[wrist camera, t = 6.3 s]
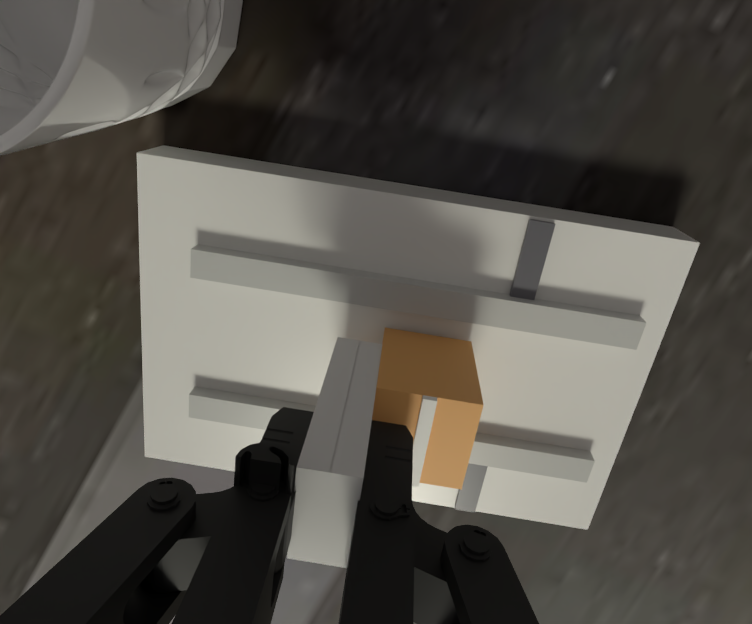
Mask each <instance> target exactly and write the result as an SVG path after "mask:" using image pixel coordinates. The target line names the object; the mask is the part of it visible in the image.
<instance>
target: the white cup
mask: <svg viewBox="0 0 752 624" xmlns="http://www.w3.org/2000/svg"><path fill="white" fill-rule="evenodd" d="M242 4H243V0H0V156H2V155H6V154H10V153H14V152H17V151H21V150H25V149H28V148H32V147H36V146H40V145H44V144H47V143H51V142H55V141H59V140H63V139H67V138H70V137H74V136H78V135H82V134H86V133H90V132H94V131H97V130H101V129H104V128H107V127H109V126H113V125H116V124H119V123H122V122H125V121H129V120H132V119H136V118H139V117H142V116H145V115H148V114H151V113H153V112H156V111H158V110H160V109H162V108H166V107H170V106H173V105H175V104H177V103H179V102H181V101H183V100H185V99H187V98H189V97H191V96H193V95H195V94H197V93H199V92H201V91H202V90H204V89H206V88H208V87H210V86H211V85H212V83H213V82H214V80H215V79H216V77H217V76H218V74H219V73H220V71H221V70H222V68H223V67H224V65H225V64H226V62H227V61H228V59H229V58H230V56H231V55H232V53H233V52H234V50H235V49H236V45H237V38H238V31H239V24H240V17H241V11H242Z"/></svg>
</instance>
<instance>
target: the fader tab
mask: <svg viewBox="0 0 752 624" xmlns="http://www.w3.org/2000/svg"><path fill="white" fill-rule="evenodd" d="M483 405H484V404H483V399H482V394H481V389H480V384H479V379H478V373H477V368H476V363H475V358H474V353H473V348H472V342H471V341H465V340H459V339H453V338H447V337H441V336H434V335H428V334H422V333H416V332H410V331H404V330H397V329H391V328H385V329H384V335H383V341H382V351H381V358H380V365H379V373H378V380H377V387H376V394H375V401H374V408H373V415H372V420H375V421H381V422H388V423H394V424H400V425H406V426H407V428H408V430H409V431H410V433H411V435H412V437H413V461H412V463H413V468H412V486H415V487H418V486H419V483H424V484H430V485H436V486H443V487H449V488H455V489H461V490H462V486H463V482H464V478H465V474H466V470H467V467H468V463H469V459H470V455H471V451H472V447H473V444H474V440H475V436H476V432H477V428H478V425H479V421H480V417H481V413H482V409H483Z"/></svg>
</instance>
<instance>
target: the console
mask: <svg viewBox="0 0 752 624" xmlns="http://www.w3.org/2000/svg"><path fill="white" fill-rule="evenodd" d="M137 182H138V220H139V257H140V294H141V331H142V369H143V406H144V443H145V457H150V458H156V459H162V460H169V461H175V462H181V463H187V464H193V465H199V466H205V467H211V468H217V469H223V470H229V471H235V456H236V455H237V454H238V453H239V451H240V450H241V449H243V448H245V447H247V446H249V445H251V444H256V443H260V442H261V440H262V437H263V435H264V433H265V430H266V428H267V426H268V423H269V421H270V419H271V416H272V415H274V414H275V413H276V412H278V411H279V410H280V409H281V408H283V407H287V408H293V409H299V410H306V411H312V412H314V410H315V407H316V404H317V401H318V398H319V394H320V391H321V388H322V385H323V382H324V379H325V375H326V372H327V369H328V366H329V363H330V360H331V356H332V353H333V350H334V347H335V344H336V341H337V338H338V337H341V338H347V339H353V340H360V341H366V342H372V343H378V344H382V341H383V335H384V329H385V328H391V329H397V330H404V331H410V332H416V333H422V334H428V335H434V336H441V337H447V338H453V339H459V340H465V341H471V342H472V348H473V353H474V358H475V363H476V368H477V373H478V379H479V384H480V389H481V394H482V399H483V404H484V405H483V409H482V413H481V417H480V421H479V425H478V428H477V432H476V436H475V440H474V444H473V447H472V451H471V455H470V459H469V463H468V467H467V470H466V474H465V478H464V482H463V486H462V490H461V489H455V488H449V487H443V486H436V485H430V484H424V483H419V486H418V487H415V486H412V501H417V502H423V503H429V504H435V505H441V506H447V507H453V508H455V509H456V510H462V511H468V512H474V513H475V511H478V512H484V513H490V514H496V515H502V516H508V517H514V518H520V519H526V520H532V521H538V522H544V523H550V524H556V525H562V526H568V527H574V528H581V529H587V530H588V527H589V525H590V522H591V520H592V517H593V515H594V512H595V509H596V507H597V504H598V502H599V499H600V497H601V494H602V492H603V489H604V486H605V484H606V481H607V479H608V476H609V474H610V471H611V469H612V466H613V463H614V461H615V458H616V456H617V453H618V451H619V448H620V446H621V443H622V441H623V438H624V435H625V433H626V430H627V428H628V425H629V423H630V420H631V418H632V415H633V412H634V410H635V407H636V405H637V402H638V400H639V397H640V395H641V392H642V389H643V387H644V384H645V382H646V379H647V377H648V374H649V372H650V369H651V366H652V364H653V361H654V359H655V356H656V354H657V351H658V349H659V346H660V343H661V341H662V338H663V336H664V333H665V331H666V328H667V326H668V323H669V320H670V318H671V315H672V313H673V310H674V308H675V305H676V303H677V300H678V297H679V295H680V292H681V290H682V287H683V285H684V282H685V280H686V277H687V274H688V272H689V269H690V267H691V264H692V262H693V259H694V257H695V254H696V251H697V249H698V246H699V244H700V243H699V242H698V241H696V240H694V239H693V238H691V237H689V236H688V235H686V234H684V233H683V232H681V231H679V230H678V229H676V228H674V227H671V226H665V225H659V224H652V223H646V222H640V221H634V220H627V219H621V218H615V217H609V216H602V215H596V214H590V213H584V212H577V211H571V210H565V209H559V208H552V207H546V206H540V205H534V204H527V203H521V202H515V201H509V200H502V199H496V198H490V197H484V196H477V195H471V194H465V193H458V192H452V191H446V190H440V189H433V188H427V187H421V186H415V185H408V184H402V183H396V182H390V181H383V180H377V179H371V178H365V177H358V176H352V175H346V174H340V173H333V172H327V171H321V170H315V169H308V168H302V167H296V166H290V165H283V164H277V163H271V162H265V161H258V160H252V159H246V158H240V157H233V156H227V155H221V154H215V153H208V152H202V151H196V150H190V149H183V148H177V147H171V146H164V145H163V146H159V147H155V148H152V149H148V150H145V151H141V152H137Z"/></svg>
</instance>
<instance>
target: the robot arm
mask: <svg viewBox="0 0 752 624" xmlns="http://www.w3.org/2000/svg"><path fill="white" fill-rule="evenodd" d="M381 351H382V344H378V343H372V342H366V341H360V340H353V339H347V338H341V337H338V338H337V341H336V344H335V347H334V350H333V353H332V356H331V360H330V363H329V366H328V369H327V372H326V375H325V379H324V382H323V385H322V388H321V391H320V394H319V398H318V401H317V404H316V407H315V410H314V412H312V411H306V410H299V409H293V408H287V407H283V408H281V409H280V410H279V411H278V412H276V413H275V414H274V415H272V416H271V419H270V421H269V423H268V426H267V428H266V430H265V433H264V435H263V437H262V440H261V442H260V443H256V444H251V445H249V446H247V447H245V448H243V449H241V450H240V451H239V453H238V454H237V455H236V456H235V476H234V487H232V488H230V489H227V490H224V491H221V492H215V493H205V494H196V491H195V490H194V488H193V487H192V485H191V484H189V483H187V482H186V481H184V480H181V479H176V478H162V479H157V480H154V481H151V482H148V483H147V484H145V485H144V486H142V487H141V488H139V489H138V490H137V491H136V492H135V493H133V494H132V495H131V496H130V497H129V498H128V499H127V500H126V501H125V502H124V503H123V504H121V505H120V506H119V507H118V508H117V509H116V510H115V511H114V512H113V513H112V514H111V515H109V516H108V517H107V518H106V519H105V520H104V521H103V522H102V523H101V524H100V525H99V526H97V527H96V528H95V529H94V530H93V531H92V532H91V533H90V534H89V535H88V536H87V537H86V538H84V539H83V540H82V541H81V542H80V543H79V544H78V545H77V546H76V547H75V548H74V549H72V550H71V551H70V552H69V553H68V554H67V555H66V556H65V557H64V558H63V559H62V560H60V561H59V562H58V563H57V564H56V565H55V566H54V567H53V568H52V569H51V570H50V571H48V572H47V573H46V574H45V575H44V576H43V577H42V578H41V579H40V580H39V581H38V582H36V583H35V584H34V585H33V586H32V587H31V588H30V589H29V590H28V591H27V592H26V593H24V594H23V595H22V596H21V597H20V598H19V599H18V600H17V601H16V602H15V603H14V604H12V605H11V606H10V607H9V608H8V609H7V610H6V611H5V612H4V613H3V614H2V615H0V624H169V623H170V621H171V620H172V619H173V617H174V616H175V618H174V620H173V622H172V624H270V623H271V620H272V616H273V612H274V609H275V605H276V601H277V598H278V594H279V590H280V587H281V583H282V579H283V572H284V562H285V558H286V555H287V558H289V559H295V560H301V561H307V562H313V563H319V564H325V565H331V566H337V567H343V568H347V573H346V579H345V585H344V591H343V597H342V603H341V609H340V617H339V624H413V622H415V623H417V624H539V623H538V621H537V618H536V616H535V614H534V612H533V610H532V607H531V605H530V603H529V601H528V599H527V597H526V594H525V592H524V590H523V588H522V586H521V584H520V581H519V579H518V577H517V575H516V573H515V570H514V568H513V566H512V564H511V562H510V560H509V557H508V555H507V553H506V551H505V549H504V547H503V545H502V544H501V542H500V541H499V540H498V538H497V537H495V536H494V535H493V534H492V533H490V532H489V531H487V530H485V529H483V528H480V527H478V526H472V525H461V526H456V527H454V528H453V529H452V530H450V531H449V532H448V533H446V532H444V531H441V530H439V529H437V528H435V527H433V526H431V525H429V524H427V523H426V522H425V521H424V520H422V519H421V518H420V517H419V515H418V514H417V513H416V511H415V509H414V507H413V504H412V468H413V463H412V461H413V437H412V435H411V433H410V431H409V430H408V428H407V426H406V425H400V424H394V423H388V422H381V421H375V420H372V415H373V408H374V401H375V394H376V387H377V380H378V373H379V365H380V358H381ZM287 551H288V554H287Z"/></svg>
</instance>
